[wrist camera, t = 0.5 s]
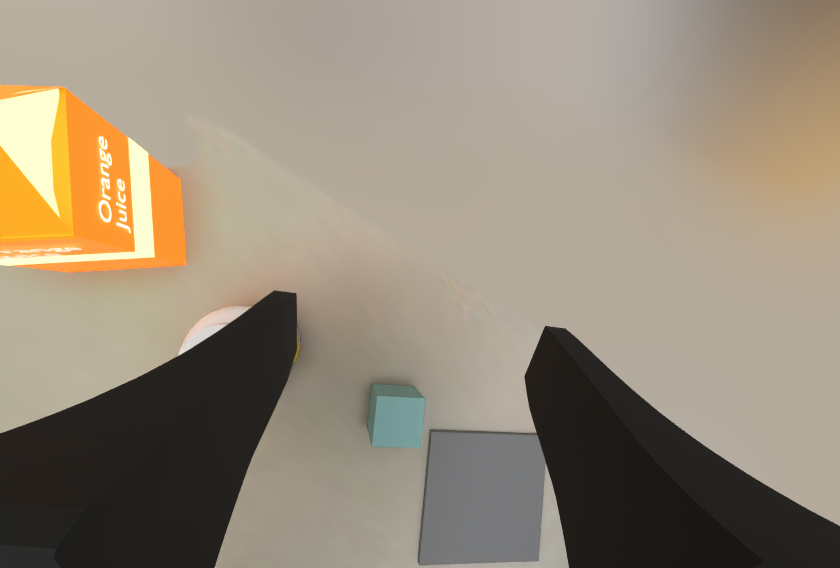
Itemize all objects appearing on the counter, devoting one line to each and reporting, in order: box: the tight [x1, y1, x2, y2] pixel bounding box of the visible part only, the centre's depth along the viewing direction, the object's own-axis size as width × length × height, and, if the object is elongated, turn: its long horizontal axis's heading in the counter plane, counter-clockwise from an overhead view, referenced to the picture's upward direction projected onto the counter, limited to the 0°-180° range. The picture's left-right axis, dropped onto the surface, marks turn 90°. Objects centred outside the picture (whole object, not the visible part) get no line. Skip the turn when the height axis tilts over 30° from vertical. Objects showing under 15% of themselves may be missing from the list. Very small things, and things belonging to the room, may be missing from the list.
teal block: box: [367, 384, 425, 448], centre depth 34 cm, size 4×4×5 cm
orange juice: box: [0, 85, 186, 272], centre depth 23 cm, size 8×9×20 cm
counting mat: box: [418, 430, 546, 565], centre depth 37 cm, size 12×12×1 cm
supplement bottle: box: [178, 305, 301, 366], centre depth 28 cm, size 7×7×13 cm
